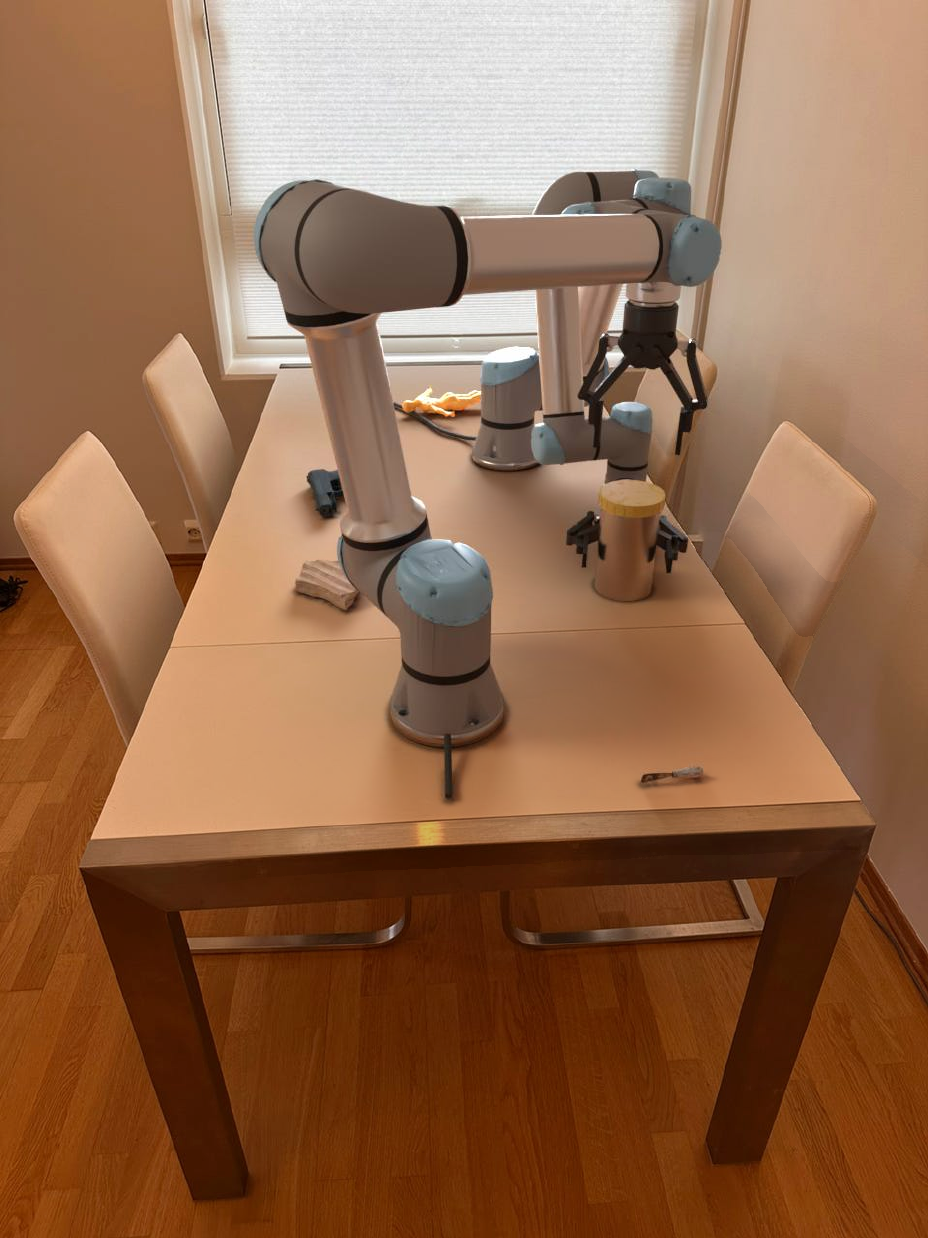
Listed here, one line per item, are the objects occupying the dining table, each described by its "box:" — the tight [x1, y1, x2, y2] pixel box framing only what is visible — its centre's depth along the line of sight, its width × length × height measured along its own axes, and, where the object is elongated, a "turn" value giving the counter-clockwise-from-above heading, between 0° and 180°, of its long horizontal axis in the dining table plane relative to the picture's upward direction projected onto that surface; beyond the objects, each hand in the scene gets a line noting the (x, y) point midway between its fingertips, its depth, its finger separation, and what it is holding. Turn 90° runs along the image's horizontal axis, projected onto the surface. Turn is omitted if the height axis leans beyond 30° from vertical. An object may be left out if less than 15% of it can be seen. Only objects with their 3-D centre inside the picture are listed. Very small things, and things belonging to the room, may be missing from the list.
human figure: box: [401, 385, 481, 418], centre depth 225 cm, size 20×20×4 cm
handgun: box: [305, 468, 344, 518], centre depth 180 cm, size 3×18×12 cm
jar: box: [593, 507, 661, 602], centre depth 145 cm, size 9×9×17 cm
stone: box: [294, 559, 360, 611], centre depth 149 cm, size 13×12×3 cm
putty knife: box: [640, 765, 705, 784], centre depth 109 cm, size 1×8×2 cm, turn 103°
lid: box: [597, 480, 667, 518], centre depth 141 cm, size 10×10×2 cm
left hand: (636, 448), depth 137 cm, fingers open, 12 cm apart
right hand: (626, 563), depth 144 cm, fingers open, 13 cm apart
